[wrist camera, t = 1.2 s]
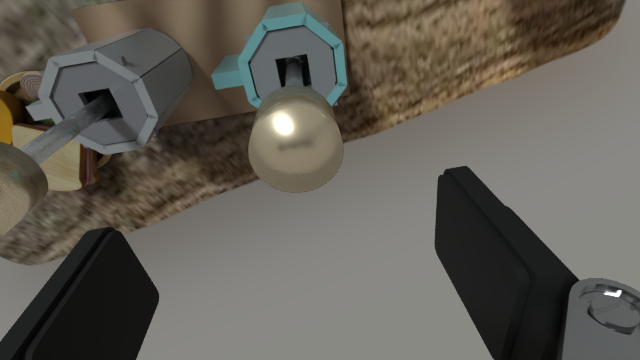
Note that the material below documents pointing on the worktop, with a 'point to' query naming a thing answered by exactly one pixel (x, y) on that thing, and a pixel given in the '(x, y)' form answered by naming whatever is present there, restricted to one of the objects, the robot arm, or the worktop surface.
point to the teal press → (286, 54)
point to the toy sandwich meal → (20, 128)
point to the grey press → (117, 87)
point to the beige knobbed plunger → (295, 133)
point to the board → (200, 41)
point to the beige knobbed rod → (43, 158)
